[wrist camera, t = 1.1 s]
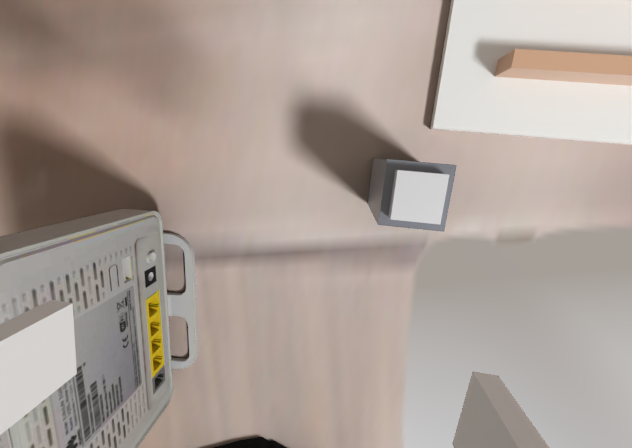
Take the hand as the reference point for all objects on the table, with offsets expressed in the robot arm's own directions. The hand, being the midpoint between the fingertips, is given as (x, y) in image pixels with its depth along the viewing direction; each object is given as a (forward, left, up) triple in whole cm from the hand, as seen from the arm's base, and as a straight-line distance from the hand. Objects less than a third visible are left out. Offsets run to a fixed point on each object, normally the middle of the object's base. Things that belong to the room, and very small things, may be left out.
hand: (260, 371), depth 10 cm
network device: (+13, -19, -26) cm, 35 cm away
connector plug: (-5, +8, -26) cm, 27 cm away
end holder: (-21, +23, -26) cm, 40 cm away
